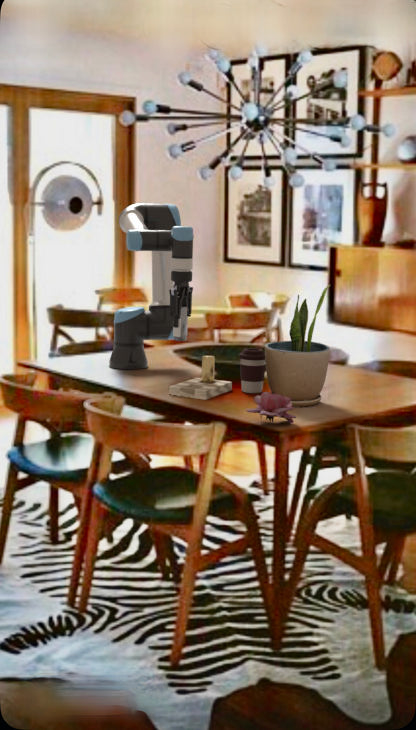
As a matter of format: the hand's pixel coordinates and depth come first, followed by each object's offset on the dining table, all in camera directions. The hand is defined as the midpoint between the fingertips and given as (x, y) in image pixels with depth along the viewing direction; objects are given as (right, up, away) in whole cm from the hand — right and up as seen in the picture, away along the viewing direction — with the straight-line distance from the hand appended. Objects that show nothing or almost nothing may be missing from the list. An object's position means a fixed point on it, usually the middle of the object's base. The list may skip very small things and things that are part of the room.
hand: (180, 335), depth 362 cm
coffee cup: (+25, -20, -6) cm, 33 cm away
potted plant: (+39, -23, -22) cm, 51 cm away
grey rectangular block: (0, -2, 0) cm, 2 cm away
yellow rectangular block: (+10, -19, -6) cm, 22 cm away
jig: (+7, -20, -10) cm, 24 cm away
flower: (+29, -29, -54) cm, 68 cm away
